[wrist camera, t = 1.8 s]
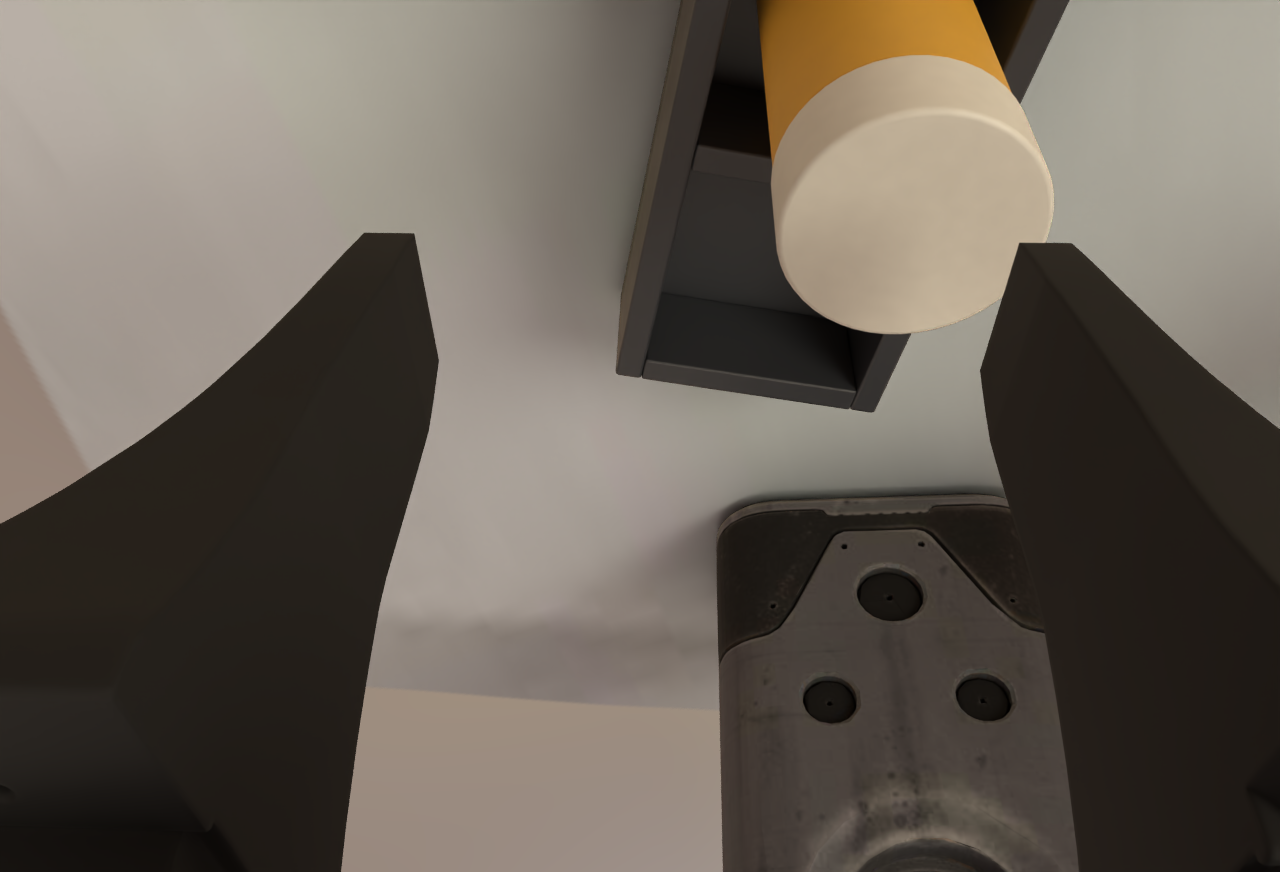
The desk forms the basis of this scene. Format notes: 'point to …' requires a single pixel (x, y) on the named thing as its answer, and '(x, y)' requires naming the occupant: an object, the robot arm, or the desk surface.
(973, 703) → the electronic device
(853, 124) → the pill bottle
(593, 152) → the desk surface
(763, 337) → the organizer
